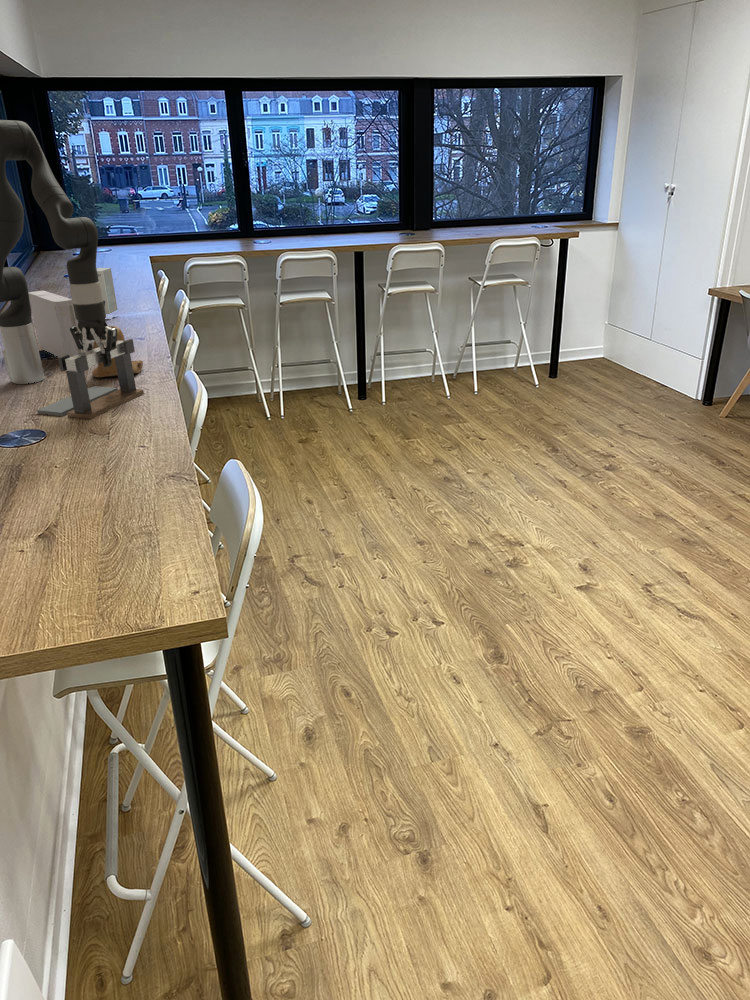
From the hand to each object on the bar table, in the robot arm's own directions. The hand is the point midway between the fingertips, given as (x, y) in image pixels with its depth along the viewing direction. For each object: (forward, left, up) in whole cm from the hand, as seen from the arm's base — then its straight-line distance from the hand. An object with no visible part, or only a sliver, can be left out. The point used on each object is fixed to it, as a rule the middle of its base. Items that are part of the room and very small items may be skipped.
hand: (100, 365), depth 200 cm
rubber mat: (-10, 0, -11) cm, 15 cm away
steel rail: (0, 0, +1) cm, 1 cm away
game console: (-53, +43, -11) cm, 70 cm away
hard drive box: (-84, +100, -11) cm, 131 cm away
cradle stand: (0, 0, -11) cm, 11 cm away
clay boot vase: (-17, +26, -11) cm, 33 cm away
